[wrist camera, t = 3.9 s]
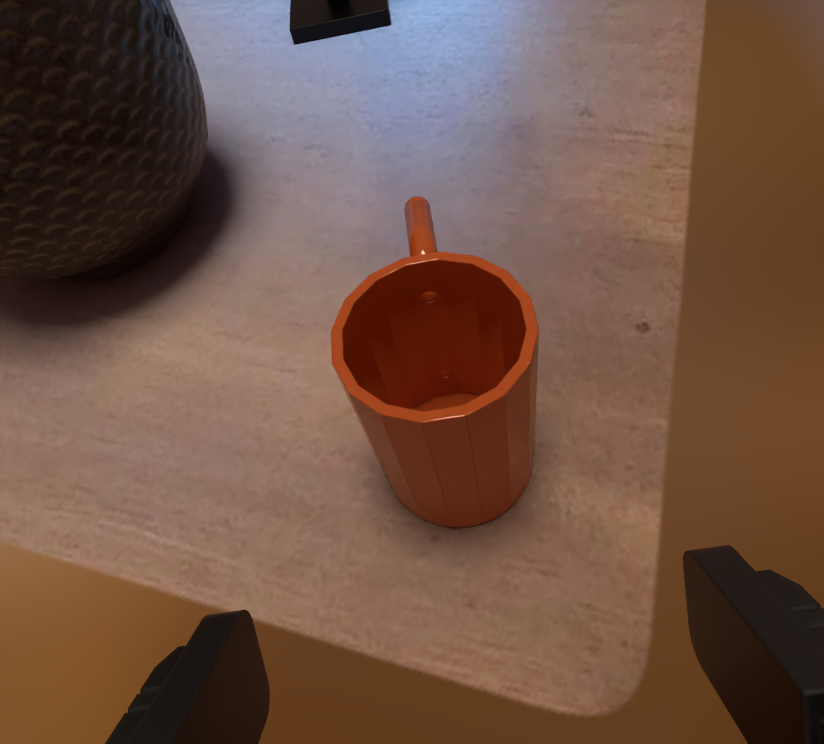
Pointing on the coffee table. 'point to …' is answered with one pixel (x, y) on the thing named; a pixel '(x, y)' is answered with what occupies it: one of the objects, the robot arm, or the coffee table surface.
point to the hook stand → (335, 17)
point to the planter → (94, 135)
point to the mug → (443, 377)
